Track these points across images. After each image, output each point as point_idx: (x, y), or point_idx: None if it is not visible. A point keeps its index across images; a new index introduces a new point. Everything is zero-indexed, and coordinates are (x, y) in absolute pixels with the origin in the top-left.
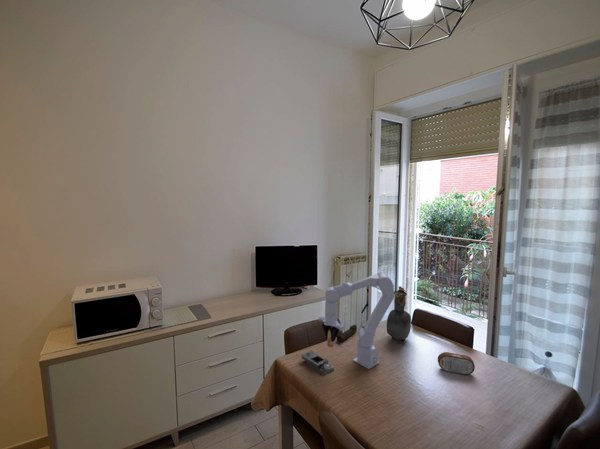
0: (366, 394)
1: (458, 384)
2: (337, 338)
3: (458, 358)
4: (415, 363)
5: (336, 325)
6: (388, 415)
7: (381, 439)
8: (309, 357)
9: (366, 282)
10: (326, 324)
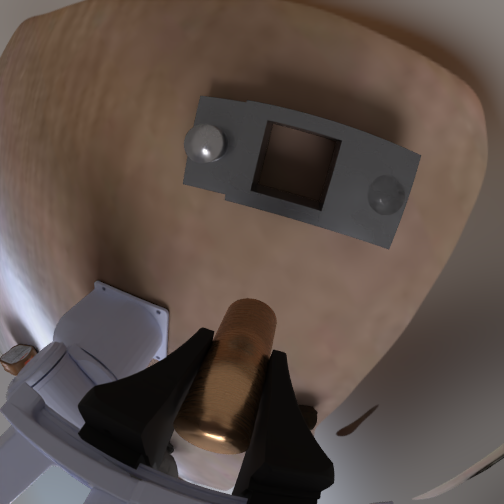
0: (43, 134)
1: (7, 310)
2: (310, 417)
3: (4, 361)
4: None
5: (38, 446)
6: (5, 111)
7: (9, 46)
8: (360, 156)
9: None
10: (136, 497)
